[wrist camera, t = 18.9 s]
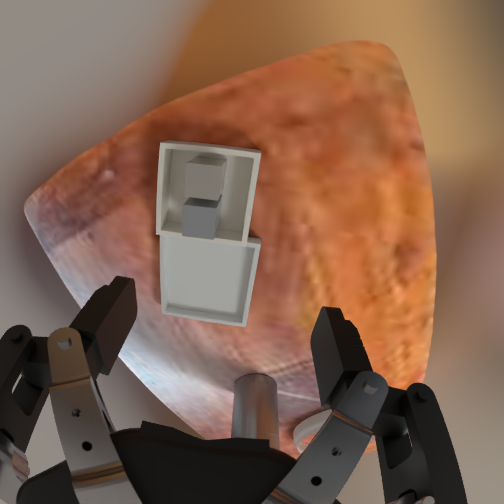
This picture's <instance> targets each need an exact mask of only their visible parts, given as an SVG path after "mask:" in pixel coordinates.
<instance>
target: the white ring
mask: <svg viewBox="0 0 504 504" xmlns="http://www.w3.org/2000/svg"><path fill="white" fill-rule="evenodd" d="M331 413H332V410H331V409H329V410H326V411H323V412H320V413H318V414H315V415H313V416H311V417H309V418H307V419H305V420H304V421H302V422H301V423H300V424H298V425H297V426H296V428H295V429H294V432H293V439H294V445H295V446H296V447H297V449H298V451H299V452H300V453H302V452H303V451H304V450H305V448H306V447H307V446H308V444H305V443H302V442H301V441H302V440H303V439H305V438H306V437H308V436H310V435H312V434H314V433H316V432H318V431H319V430H320V428H321V427H322V425H323V424H324V423H325V421H326V420H327V418H328V417H329V415H330V414H331ZM374 440H375V436H374V435H372V437H371V439H370V441H369V443H371V442H372V441H374ZM369 443H368V444H369Z"/></svg>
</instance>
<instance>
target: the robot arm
mask: <svg viewBox="0 0 504 504" xmlns="http://www.w3.org/2000/svg"><path fill="white" fill-rule="evenodd" d="M136 316H137V299H136V289H135V281H134V279H132V278H127V277H122V276H116V277H115V278H114V280H113V281H112V282H111V284H110V285H109V286H108V285H104V286H102V287H101V288H99V289H98V290H96V291H95V292H94V294H93V295H92V296H91V297H90V300H88V301H87V303H86V304H85V306H84V307H83V308H82V309H81V311H80V312H79V314H78V315H77V316H76V318H75V319H74V320H73V322H72V323H71V325H70V326H69V327H65V328H60V329H57V330H55V331H54V332H52V334H50V336H49V337H36V336H35V337H33V336H32V334H31V331H30V329H29V328H28V327H26V326H24V325H16V326H13V327H11V328H9V329H8V330H7V331H6V332H5V334H4V335H3V337H2V338H1V339H0V499H2V500H3V501H5V502H6V503H8V504H341V503H340V502H339V501H338V500H337V499H336V497H337V496H338V494H339V493H340V491H341V490H342V488H343V487H344V485H345V484H346V482H347V480H348V479H349V477H350V475H351V474H352V472H353V470H354V469H355V467H356V465H357V464H358V462H359V460H360V458H361V456H362V455H363V453H364V451H365V449H366V447H367V445H368V443H369V441H370V439H371V437H372V435H374V436H375V440H376V446H377V451H378V457H379V463H380V469H381V476H382V483H383V490H384V498H385V504H468V503H467V499H466V494H465V489H464V485H463V481H462V477H461V473H460V469H459V465H458V462H457V458H456V455H455V451H454V448H453V445H452V442H451V439H450V436H449V432H448V430H447V427H446V424H445V421H444V418H443V415H442V413H441V410H440V407H439V405H438V402H437V399H436V397H435V394H434V392H433V391H432V390H431V389H430V388H429V387H428V386H427V385H425V384H422V383H413V384H411V385H410V386H409V387H408V388H407V390H402V389H398V388H393V387H390V386H388V384H387V382H386V380H385V379H384V378H383V377H382V376H381V375H380V374H378V373H376V372H373V370H372V367H371V364H370V361H369V359H368V356H367V353H366V351H365V348H364V346H363V343H362V340H361V339H360V335H359V332H358V330H357V328H356V327H355V326H354V325H353V324H352V322H351V321H350V320H345V319H344V316H343V313H342V311H341V309H340V308H335V307H325V306H323V307H322V308H321V310H320V313H319V315H318V318H317V321H316V324H315V326H314V329H313V331H312V335H311V351H312V356H313V361H314V367H315V372H316V378H317V383H318V389H319V395H320V401H321V407H331V410H332V413H331V414H330V415H329V417H328V418H327V420H326V421H325V423H324V424H323V425H322V427H321V428H320V430H319V431H318V432H317V434H316V435H315V437H314V438H313V439H312V441H311V442H310V443H309V444H308V446H307V447H306V448H305V450H304V451H303V452H302V453H301V454H300V456H299V457H298V458H297V459H294V458H293V457H291V456H290V455H288V454H286V453H284V452H282V451H280V441H279V419H278V397H277V384H276V382H275V380H274V379H272V378H271V377H269V376H265V375H261V374H251V375H246V376H243V377H241V378H239V379H238V380H237V381H236V383H235V391H234V403H233V416H232V429H231V438H227V439H216V440H202V439H199V438H197V437H194V436H192V435H189V434H187V433H184V432H182V431H180V430H177V429H175V428H173V427H168V426H164V425H159V424H155V423H151V422H147V421H142V424H141V428H129V429H123V430H120V431H116V429H115V427H114V425H113V423H112V421H111V419H110V416H109V413H108V411H107V408H106V406H105V403H104V400H103V397H102V394H101V392H100V389H99V385H98V382H97V380H96V379H97V377H98V375H99V373H102V374H105V375H109V373H110V371H111V369H112V367H113V365H114V362H115V360H116V358H117V356H118V354H119V352H120V350H121V348H122V346H123V344H124V342H125V340H126V338H127V336H128V334H129V332H130V330H131V328H132V326H133V324H134V322H135V320H136ZM20 374H21V375H22V377H21V379H20V380H19V382H18V384H17V386H16V388H15V390H14V392H13V393H12V388H13V386H14V384H15V382H16V380H17V379H18V377H19V375H20ZM49 393H50V398H51V404H52V408H53V413H54V418H55V422H56V426H57V430H58V434H59V437H60V441H61V444H62V448H63V451H64V454H65V457H66V460H64V461H63V462H61V463H59V464H57V465H55V466H53V467H51V468H49V469H47V470H45V471H43V472H41V473H39V474H37V475H35V476H33V477H31V478H29V479H28V475H29V474H30V469H29V467H28V460H27V457H26V455H25V451H26V448H27V446H28V443H29V440H30V438H31V435H32V432H33V430H34V427H35V425H36V422H37V420H38V417H39V415H40V413H41V410H42V408H43V406H44V404H45V401H46V399H47V397H48V395H49ZM408 432H409V434H408ZM409 436H410V438H409ZM410 440H411V442H410ZM411 444H412V446H411Z"/></svg>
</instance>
